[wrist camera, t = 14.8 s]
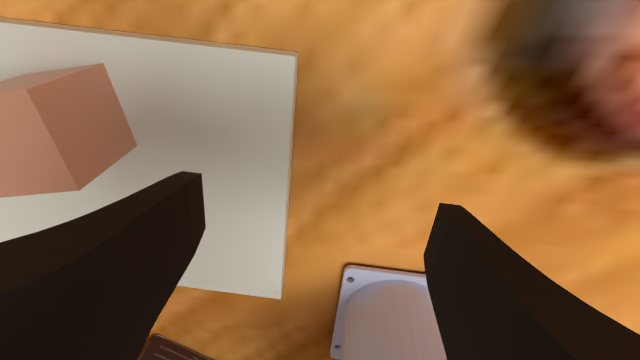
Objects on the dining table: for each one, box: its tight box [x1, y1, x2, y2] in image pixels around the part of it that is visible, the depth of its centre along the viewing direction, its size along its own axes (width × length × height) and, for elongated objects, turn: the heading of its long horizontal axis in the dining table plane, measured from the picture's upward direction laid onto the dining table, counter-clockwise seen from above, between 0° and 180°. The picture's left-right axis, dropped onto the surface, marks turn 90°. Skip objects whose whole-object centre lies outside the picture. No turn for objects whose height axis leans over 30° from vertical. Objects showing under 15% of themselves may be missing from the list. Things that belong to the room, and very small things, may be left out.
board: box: [0, 17, 299, 299], centre depth 20 cm, size 16×22×5 cm
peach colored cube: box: [0, 63, 137, 198], centre depth 17 cm, size 4×4×5 cm
